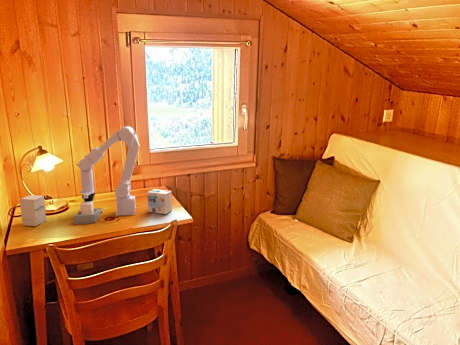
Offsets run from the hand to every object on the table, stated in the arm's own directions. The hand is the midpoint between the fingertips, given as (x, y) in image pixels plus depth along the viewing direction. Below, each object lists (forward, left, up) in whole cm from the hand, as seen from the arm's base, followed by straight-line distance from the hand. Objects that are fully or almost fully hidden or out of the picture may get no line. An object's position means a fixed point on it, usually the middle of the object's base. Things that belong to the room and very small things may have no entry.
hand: (89, 208), depth 184 cm
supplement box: (+23, +10, -3) cm, 25 cm away
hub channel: (0, +8, -3) cm, 8 cm away
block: (0, +4, -2) cm, 4 cm away
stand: (-3, -3, -3) cm, 5 cm away
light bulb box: (-35, +2, -3) cm, 35 cm away
